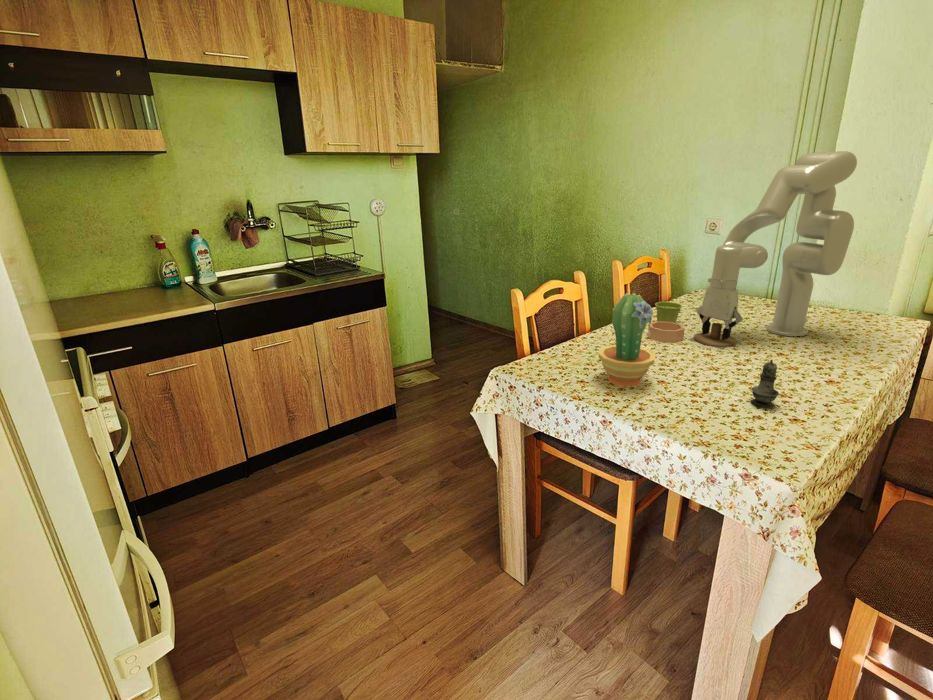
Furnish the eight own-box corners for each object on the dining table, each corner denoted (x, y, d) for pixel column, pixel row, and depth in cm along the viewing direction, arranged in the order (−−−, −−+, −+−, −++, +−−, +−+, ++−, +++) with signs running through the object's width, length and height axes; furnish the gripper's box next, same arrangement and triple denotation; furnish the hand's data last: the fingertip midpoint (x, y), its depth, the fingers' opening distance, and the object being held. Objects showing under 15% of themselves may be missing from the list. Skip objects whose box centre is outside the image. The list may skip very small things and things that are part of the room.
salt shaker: (744, 399, 124) (752, 355, 120) (765, 398, 124) (774, 354, 120) (758, 410, 118) (768, 364, 114) (781, 408, 119) (791, 363, 115)
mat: (707, 335, 172) (708, 332, 172) (741, 344, 162) (741, 341, 162) (687, 342, 166) (687, 339, 166) (720, 351, 156) (721, 348, 156)
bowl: (661, 333, 176) (662, 319, 174) (688, 340, 167) (690, 327, 165) (641, 338, 170) (643, 325, 169) (668, 347, 162) (670, 332, 160)
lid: (707, 332, 172) (710, 316, 170) (744, 341, 162) (747, 325, 160) (685, 339, 166) (687, 323, 164) (721, 349, 155) (724, 332, 153)
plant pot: (674, 323, 186) (677, 301, 183) (682, 331, 178) (685, 308, 175) (649, 323, 187) (652, 301, 184) (656, 330, 178) (659, 308, 175)
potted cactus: (599, 390, 131) (606, 300, 122) (593, 368, 145) (599, 287, 137) (658, 392, 129) (670, 301, 120) (646, 370, 143) (656, 287, 135)
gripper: (692, 281, 162) (685, 332, 168) (743, 290, 148) (734, 345, 155) (705, 278, 166) (698, 328, 172) (756, 287, 152) (746, 340, 158)
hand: (715, 335), depth 163 cm, fingers open, 6 cm apart
